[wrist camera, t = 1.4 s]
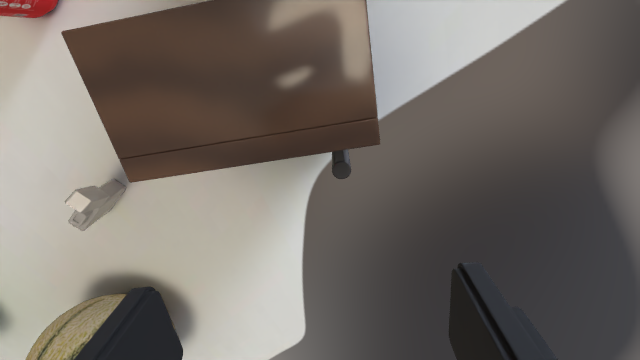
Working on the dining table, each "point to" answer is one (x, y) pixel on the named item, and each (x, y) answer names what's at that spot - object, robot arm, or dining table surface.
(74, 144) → the dining table surface
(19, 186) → the dining table surface
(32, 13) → the beverage can
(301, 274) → the dining table surface
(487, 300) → the robot arm
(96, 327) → the cantaloupe
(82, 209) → the lighter
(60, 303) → the dining table surface
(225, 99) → the cabinet
